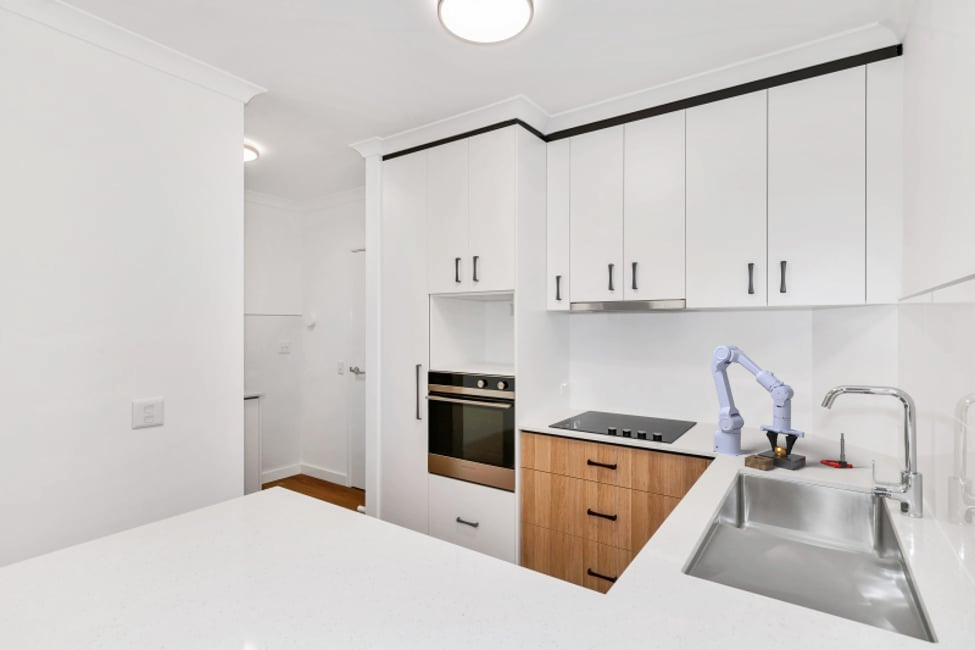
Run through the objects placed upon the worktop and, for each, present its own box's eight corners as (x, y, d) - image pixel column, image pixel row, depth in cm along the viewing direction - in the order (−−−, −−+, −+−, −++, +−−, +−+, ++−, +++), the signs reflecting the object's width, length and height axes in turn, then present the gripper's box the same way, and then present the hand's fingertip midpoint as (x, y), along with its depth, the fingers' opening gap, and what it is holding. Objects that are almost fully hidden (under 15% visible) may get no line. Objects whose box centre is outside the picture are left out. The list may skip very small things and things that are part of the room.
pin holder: (744, 466, 176) (744, 457, 176) (753, 463, 181) (753, 454, 181) (764, 471, 171) (764, 462, 171) (773, 468, 175) (773, 458, 175)
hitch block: (757, 463, 181) (757, 454, 181) (771, 458, 189) (771, 449, 189) (792, 471, 172) (792, 461, 172) (805, 465, 179) (805, 456, 179)
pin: (772, 463, 181) (772, 446, 181) (777, 461, 183) (777, 445, 183) (784, 466, 177) (784, 449, 177) (790, 464, 179) (790, 447, 179)
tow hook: (815, 462, 185) (833, 468, 176) (815, 429, 186) (832, 433, 177) (836, 462, 185) (855, 468, 176) (836, 429, 186) (855, 433, 177)
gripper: (756, 415, 184) (756, 450, 184) (799, 421, 172) (798, 459, 172) (765, 413, 188) (764, 447, 188) (806, 419, 176) (806, 456, 176)
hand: (781, 453), depth 180 cm, fingers closed on pin, 4 cm apart
